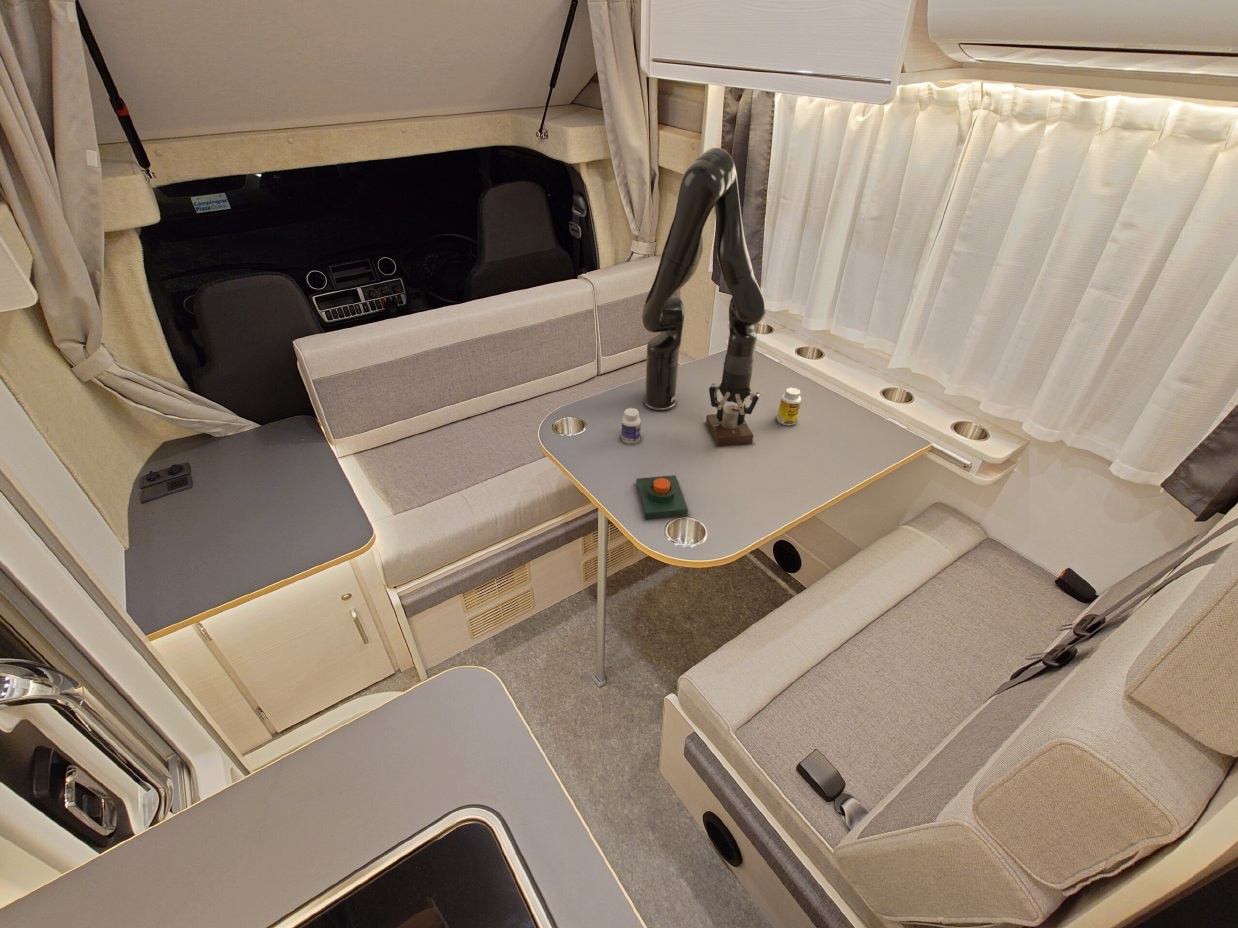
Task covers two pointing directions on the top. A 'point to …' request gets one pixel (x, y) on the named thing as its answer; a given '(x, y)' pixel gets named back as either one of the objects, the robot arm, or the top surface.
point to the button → (661, 486)
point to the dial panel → (728, 433)
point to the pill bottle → (631, 426)
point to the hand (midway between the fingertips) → (729, 421)
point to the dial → (730, 416)
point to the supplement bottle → (789, 407)
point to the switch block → (661, 499)
